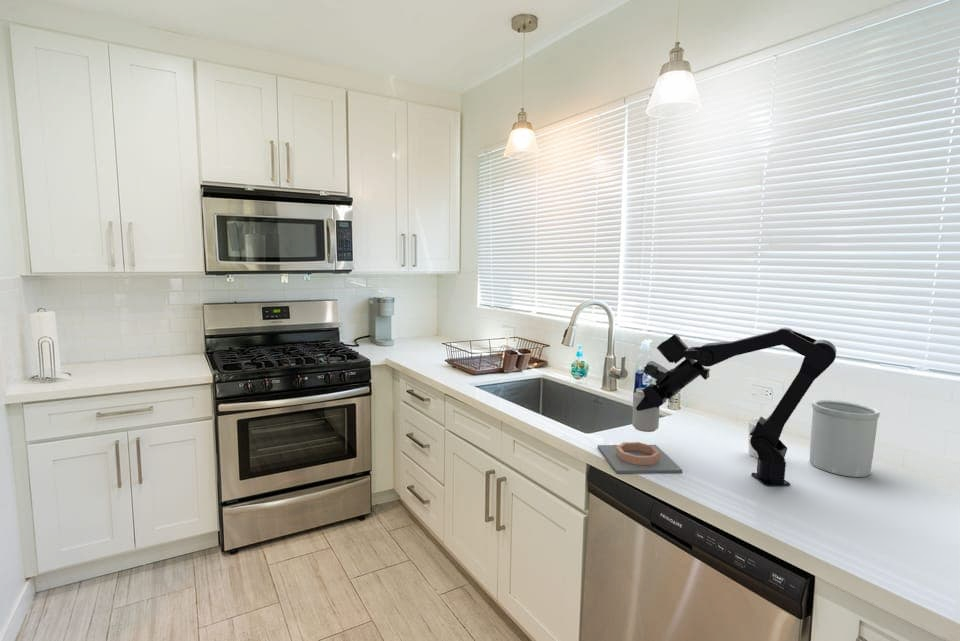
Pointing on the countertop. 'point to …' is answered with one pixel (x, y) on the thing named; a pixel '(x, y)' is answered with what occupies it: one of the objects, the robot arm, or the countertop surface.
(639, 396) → the can
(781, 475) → the robot arm
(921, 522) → the countertop surface
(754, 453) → the white cup
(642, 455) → the seat plate
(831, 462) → the utensil holder
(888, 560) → the countertop surface
